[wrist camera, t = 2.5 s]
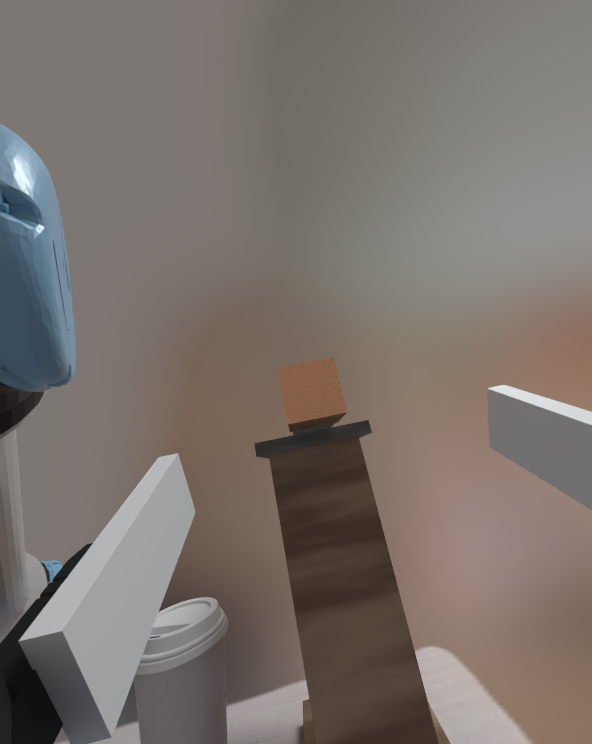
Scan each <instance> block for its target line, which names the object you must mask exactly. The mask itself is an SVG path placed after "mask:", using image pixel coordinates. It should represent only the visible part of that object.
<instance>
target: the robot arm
mask: <svg viewBox="0 0 592 744" xmlns="http://www.w3.org/2000/svg"><path fill="white" fill-rule="evenodd" d="M75 367H76V339H75V324H74V319H73V306H72V293H71V282H70V274H69V265H68V258H67V250H66V244H65V238H64V231H63V225H62V220H61V214H60V210H59V205H58V200H57V196H56V192H55V188H54V185H53V182H52V179H51V177H50V174H49V172H48V170H47V169H46V167H45V165H44V163H43V162H42V160H41V159H40V158H39V156H38V155H37V154H36V153H35V151H34V150H33V149H32V148H31V147H30V146H29V145H28V144H27V143H26V142H25V141H24V140H23V139H21V138H20V137H19V136H18V135H17V134H15V133H14V132H13V131H11V130H10V129H8V128H7V127H5V126H3V125H1V124H0V744H53V743H54V741H55V739H56V737H57V735H58V733H59V731H60V729H61V728H63V730H64V732H65V734H66V736H67V738H68V740H69V741H70V743H71V744H88V743H92V742H96V741H100V740H103V739H107V738H111V737H112V735H113V733H114V730H115V727H116V725H117V722H118V719H119V716H120V714H121V711H122V708H123V706H124V703H125V700H126V697H127V695H128V692H129V689H130V687H131V684H132V681H133V679H134V676H135V673H136V671H137V668H138V665H139V663H140V660H141V657H142V655H143V652H144V649H145V646H146V644H147V641H148V638H149V636H150V633H151V630H152V628H153V625H154V622H155V620H156V617H157V614H158V611H159V609H160V606H161V603H162V600H163V598H164V595H165V593H166V590H167V587H168V584H169V582H170V579H171V576H172V574H173V571H174V568H175V566H176V563H177V560H178V558H179V555H180V552H181V550H182V547H183V544H184V542H185V539H186V536H187V533H188V531H189V528H190V525H191V523H192V520H193V517H194V515H195V509H194V505H193V502H192V499H191V495H190V492H189V489H188V485H187V482H186V479H185V476H184V472H183V469H182V466H181V462H180V459H179V456H178V454H173V455H168V456H164V457H159V458H158V459H157V460H156V462H155V463H154V464H153V466H152V467H151V468H150V470H149V471H148V472H147V473H146V475H145V476H144V478H143V479H142V480H141V481H140V483H139V484H138V485H137V487H136V488H135V489H134V491H133V492H132V493H131V494H130V496H129V497H128V498H127V500H126V501H125V502H124V504H123V505H122V506H121V508H120V509H119V510H118V512H117V513H116V514H115V515H114V517H113V518H112V519H111V521H110V522H109V523H108V525H107V526H106V527H105V529H104V530H103V531H102V532H101V534H100V535H99V536H98V538H97V539H96V540H95V542H94V543H91V544H87V545H86V546H84V547H83V548H82V549H81V550H80V551H79V552H77V553H76V554H75V555H74V556H73V557H72V558H70V559H69V560H68V561H67V562H66V563H65V565H64V566H63V567H62V565H61V563H60V562H59V561H56V560H53V561H48V562H47V561H41V562H39V561H38V560H37V559H36V558H35V557H33V556H32V555H30V554H28V553H26V552H25V543H24V529H23V517H22V504H21V490H20V477H19V466H18V452H17V439H16V428H18V427H19V426H20V425H21V424H23V423H24V422H25V421H26V420H27V419H28V418H29V417H30V416H31V415H32V414H33V413H34V412H35V411H36V410H37V408H38V407H39V405H40V403H41V402H42V400H43V397H44V394H45V390H48V389H50V388H52V387H60V386H63V385H66V384H67V383H69V382H70V381H71V380H72V379H73V377H74V373H75ZM487 395H488V421H489V445H490V448H492V449H493V450H495V451H497V452H498V453H500V454H502V455H503V456H505V457H506V458H508V459H510V460H512V461H513V462H515V463H516V464H518V465H520V466H521V467H523V468H524V469H526V470H528V471H529V472H531V473H533V474H534V475H536V476H538V477H539V478H541V479H542V480H544V481H546V482H547V483H549V484H550V485H552V486H554V487H556V488H557V489H559V490H560V491H562V492H563V493H565V494H567V495H568V496H570V497H572V498H573V499H575V500H576V501H578V502H580V503H581V504H583V505H585V506H586V507H588V508H589V509H591V510H592V412H590V411H587V410H584V409H581V408H577V407H574V406H571V405H567V404H564V403H561V402H558V401H554V400H552V399H548V398H545V397H542V396H538V395H535V394H532V393H529V392H526V391H522V390H519V389H516V388H513V387H510V386H506V385H501V386H496V387H492V388H487Z"/></svg>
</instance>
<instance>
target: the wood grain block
mask: <svg viewBox="0 0 592 744" xmlns="http://www.w3.org/2000/svg"><path fill="white" fill-rule="evenodd" d="M278 374H279V379H280V384H281V389H282V394H283V399H284V405H285V410H286V415H287V421H288V425H289V429H290V432H293V435H298V434H303V433H308V432H313V431H318V430H322V429H327V428H331V427H332V426H333V425H334V424H335V423H337V422H338V421H339V420H340V419H341V418H342V417H343V416H344V415H345V414H346V413H347V411H346V407H345V403H344V399H343V395H342V391H341V387H340V383H339V379H338V375H337V372H336V368H335V364H334V360H333V358H328V359H323V360H317V361H312V362H307V363H301V364H296V365H291V366H286V367H281V368H278Z"/></svg>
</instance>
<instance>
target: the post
mask: <svg viewBox="0 0 592 744" xmlns="http://www.w3.org/2000/svg"><path fill="white" fill-rule="evenodd" d="M369 433H372V431H371V428H370V424H369V421H368V420H366V421H361V422H356V423H352V424H347V425H342V426H337V427H332V428H327V429H322V430H318V431H313V432H308V433H303V434H298V435H293V436H288V437H284V438H279V439H274V440H269V441H264V442H259V443H255V450H256V456H257V457H262V458H269V459H270V464H271V471H272V477H273V483H274V489H275V495H276V501H277V506H278V513H279V518H280V525H281V531H282V537H283V543H284V548H285V555H286V561H287V567H288V573H289V579H290V585H291V591H292V597H293V603H294V609H295V615H296V621H297V627H298V633H299V639H300V645H301V651H302V657H303V663H304V669H305V675H306V681H307V687H308V693H309V700H305V701H303V732H304V744H450V742H449V740H448V738H447V736H446V735H445V733H444V731H443V729H442V727H441V725H440V724H439V722H438V720H437V718H436V716H435V714H434V712H433V711H432V709H431V707H430V705H429V703H428V701H427V697H426V693H425V689H424V686H423V682H422V678H421V674H420V670H419V666H418V663H417V659H416V655H415V651H414V648H413V644H412V640H411V636H410V632H409V628H408V624H407V620H406V617H405V613H404V609H403V605H402V601H401V597H400V594H399V590H398V586H397V582H396V578H395V575H394V571H393V567H392V563H391V560H390V555H389V552H388V548H387V544H386V540H385V536H384V532H383V529H382V525H381V521H380V517H379V514H378V510H377V506H376V502H375V499H374V494H373V490H372V486H371V483H370V479H369V475H368V471H367V467H366V463H365V460H364V456H363V452H362V449H361V444H360V441H359V438H360V437H362V436H365V435H367V434H369Z"/></svg>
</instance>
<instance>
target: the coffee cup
mask: <svg viewBox="0 0 592 744" xmlns="http://www.w3.org/2000/svg"><path fill="white" fill-rule="evenodd" d="M227 628H228V621H227V618H226V615H225V614H224V612H223V610H222V609H221V608H220V607H219V604H218V602H217V600H216V599H214V598H209V597H206V598H205V597H204V598H196V599H192V600H187V601H184V602H181V603H178V604H176V605H173V606H171V607H169V608H166V609H164V610H162V611H160V612H159V613H158V614H157V617H156V620H155V622H154V625H153V628H152V630H151V633H150V636H149V638H148V641H147V644H146V646H145V649H144V652H143V655H142V657H141V660H140V663H139V665H138V668H137V671H136V673H135V676H134V685H135V693H136V703H137V712H138V721H139V731H140V740H141V744H227V718H226V685H225V651H224V633H225V632H226V630H227Z"/></svg>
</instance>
